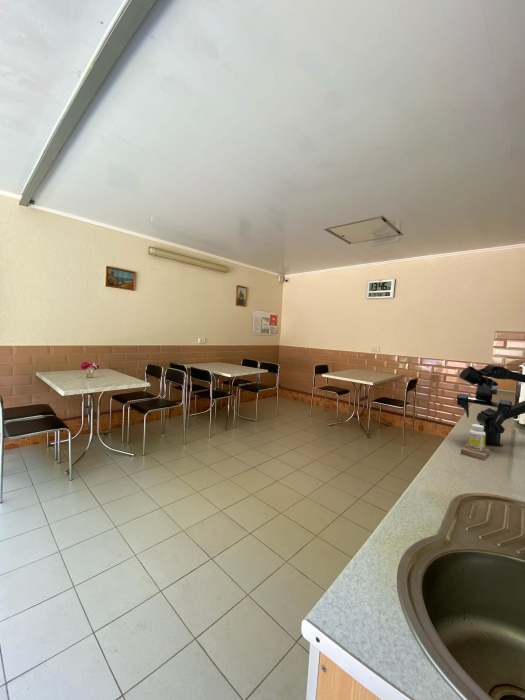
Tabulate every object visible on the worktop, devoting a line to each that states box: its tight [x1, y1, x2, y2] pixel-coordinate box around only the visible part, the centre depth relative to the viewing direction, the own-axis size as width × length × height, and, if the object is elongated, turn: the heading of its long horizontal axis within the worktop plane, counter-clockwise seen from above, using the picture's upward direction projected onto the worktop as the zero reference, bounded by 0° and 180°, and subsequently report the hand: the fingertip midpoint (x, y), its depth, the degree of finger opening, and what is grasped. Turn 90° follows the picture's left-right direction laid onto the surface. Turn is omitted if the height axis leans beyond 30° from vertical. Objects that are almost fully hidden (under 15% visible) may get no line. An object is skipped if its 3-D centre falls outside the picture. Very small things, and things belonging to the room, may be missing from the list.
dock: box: [460, 442, 491, 461], centre depth 122 cm, size 10×8×2 cm
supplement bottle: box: [468, 423, 486, 451], centre depth 122 cm, size 5×5×10 cm
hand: (481, 419), depth 124 cm, fingers open, 9 cm apart
